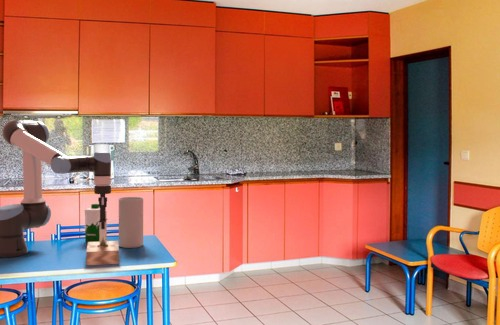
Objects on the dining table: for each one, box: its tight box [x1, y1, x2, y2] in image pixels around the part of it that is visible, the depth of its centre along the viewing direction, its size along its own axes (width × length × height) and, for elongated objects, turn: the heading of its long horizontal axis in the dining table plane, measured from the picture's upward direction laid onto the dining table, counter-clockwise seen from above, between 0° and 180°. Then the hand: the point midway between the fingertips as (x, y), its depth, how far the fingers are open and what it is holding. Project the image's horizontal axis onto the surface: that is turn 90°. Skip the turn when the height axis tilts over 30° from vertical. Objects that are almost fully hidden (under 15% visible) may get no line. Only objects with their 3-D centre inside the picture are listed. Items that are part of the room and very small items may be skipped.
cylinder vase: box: [118, 196, 144, 249], centre depth 263 cm, size 12×12×25 cm
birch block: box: [85, 240, 120, 266], centre depth 235 cm, size 14×22×6 cm, turn 16°
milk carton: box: [84, 203, 100, 243], centre depth 273 cm, size 9×9×20 cm
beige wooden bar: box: [99, 211, 108, 246], centre depth 234 cm, size 3×3×16 cm
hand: (103, 235), depth 234 cm, fingers closed on beige wooden bar, 3 cm apart
